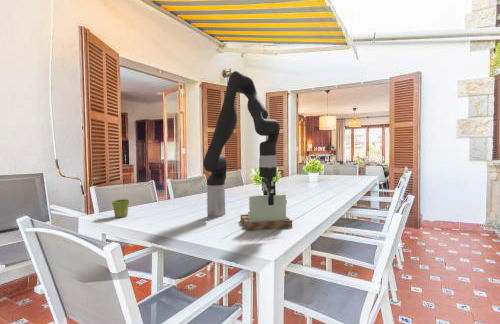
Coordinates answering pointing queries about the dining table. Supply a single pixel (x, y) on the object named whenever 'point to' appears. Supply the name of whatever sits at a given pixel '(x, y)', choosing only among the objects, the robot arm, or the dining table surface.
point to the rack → (265, 224)
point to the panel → (267, 208)
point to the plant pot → (120, 207)
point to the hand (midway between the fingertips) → (268, 203)
